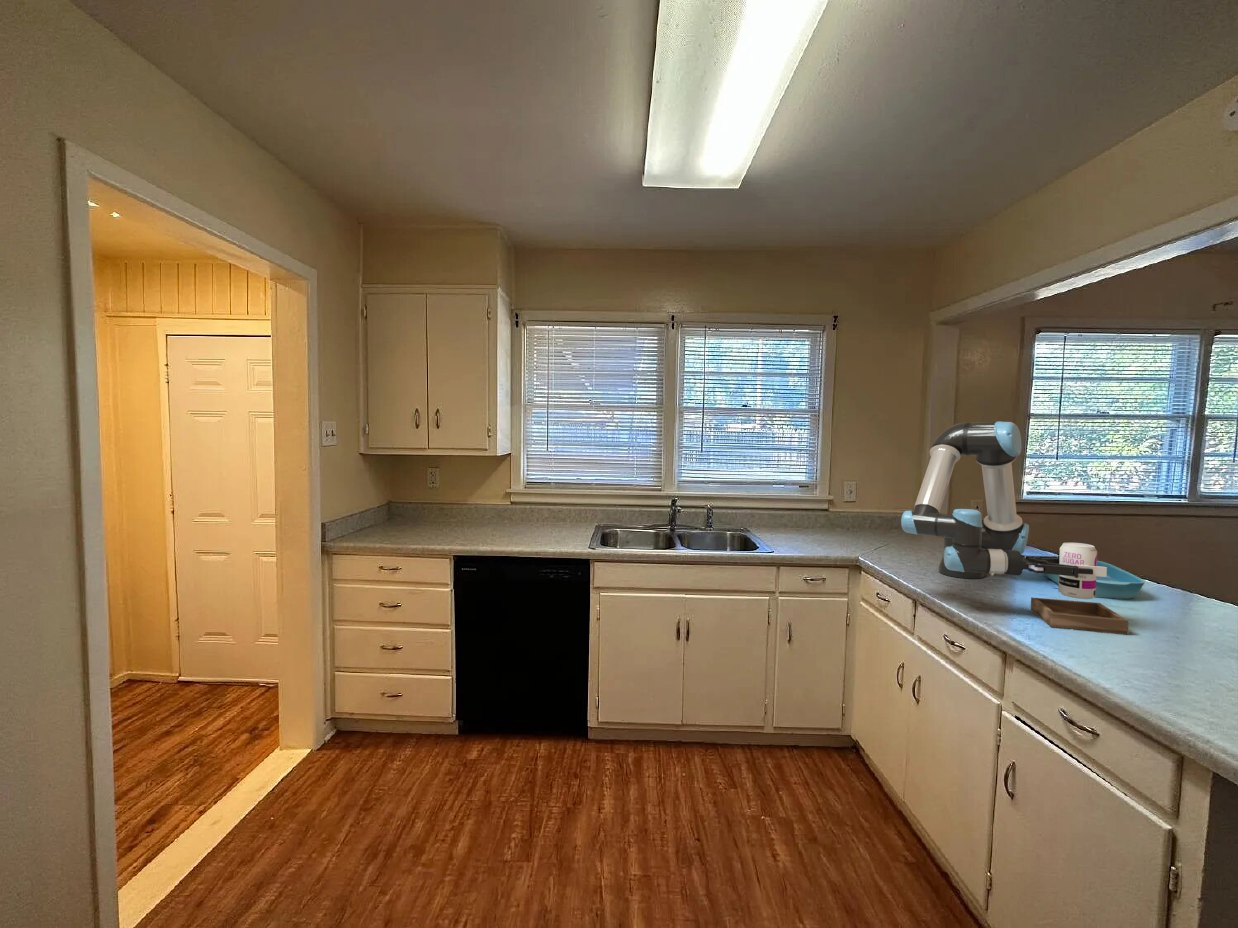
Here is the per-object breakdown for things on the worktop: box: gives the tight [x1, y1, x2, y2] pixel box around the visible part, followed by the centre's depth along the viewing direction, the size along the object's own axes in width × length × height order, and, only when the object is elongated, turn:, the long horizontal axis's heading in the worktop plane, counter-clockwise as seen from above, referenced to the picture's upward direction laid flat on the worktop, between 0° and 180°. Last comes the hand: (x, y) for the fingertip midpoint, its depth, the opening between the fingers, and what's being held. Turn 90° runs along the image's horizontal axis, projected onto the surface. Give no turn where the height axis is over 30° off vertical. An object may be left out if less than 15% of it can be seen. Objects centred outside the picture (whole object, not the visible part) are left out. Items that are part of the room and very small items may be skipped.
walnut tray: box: [1030, 597, 1129, 636], centre depth 153 cm, size 16×17×4 cm
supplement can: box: [1057, 542, 1098, 600], centre depth 152 cm, size 8×8×15 cm
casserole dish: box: [1043, 555, 1146, 600], centre depth 187 cm, size 37×22×7 cm, turn 160°
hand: (1098, 568), depth 150 cm, fingers closed on supplement can, 8 cm apart
